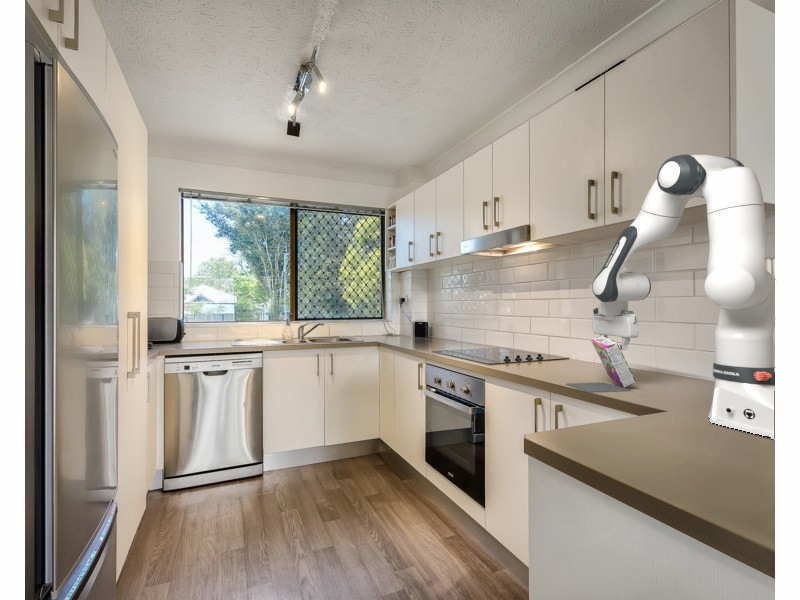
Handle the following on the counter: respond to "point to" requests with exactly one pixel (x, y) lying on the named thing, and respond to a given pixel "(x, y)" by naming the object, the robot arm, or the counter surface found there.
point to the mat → (597, 387)
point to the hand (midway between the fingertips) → (614, 348)
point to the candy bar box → (613, 361)
